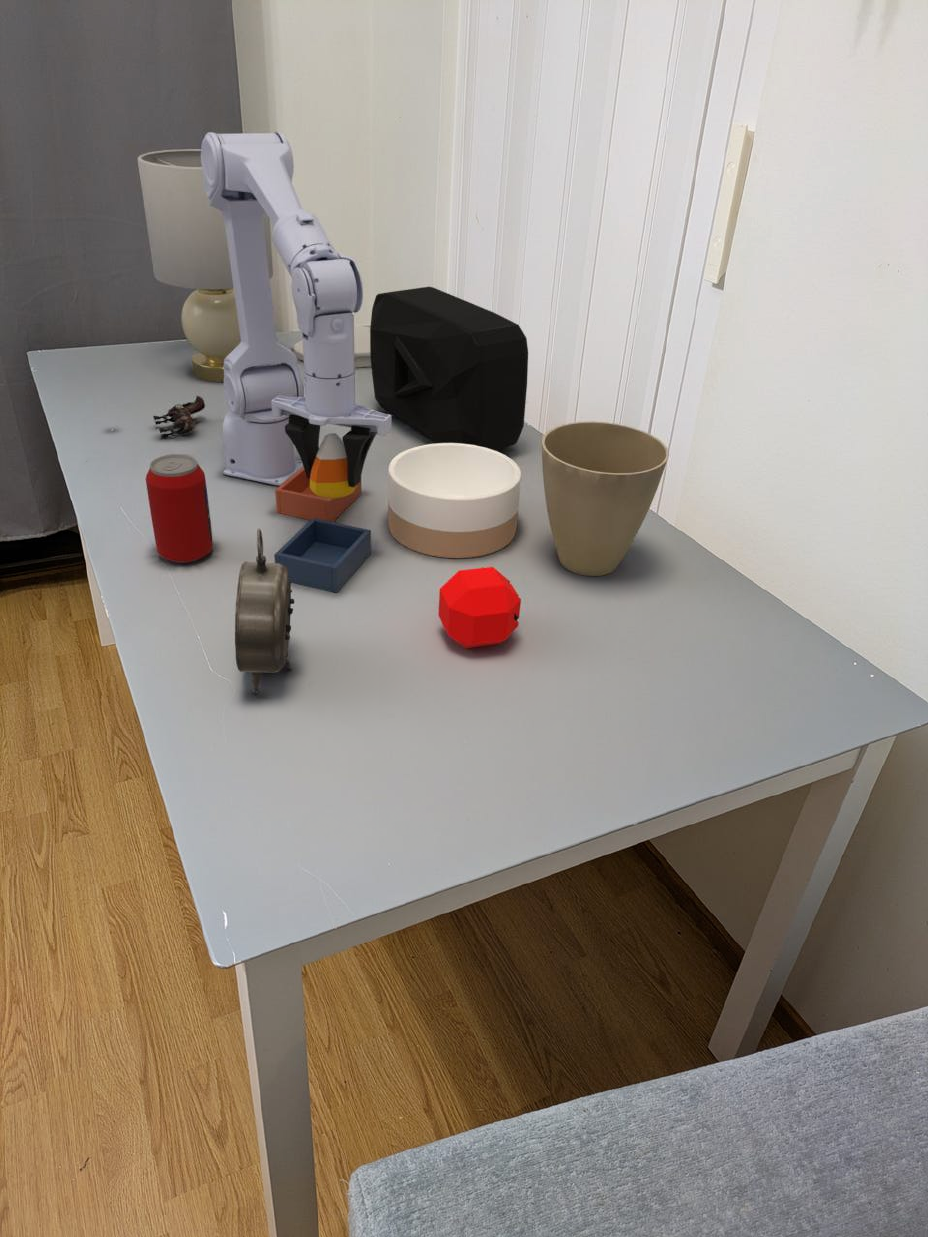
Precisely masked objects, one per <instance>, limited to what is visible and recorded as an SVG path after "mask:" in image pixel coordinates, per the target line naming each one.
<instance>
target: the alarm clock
mask: <svg viewBox="0 0 928 1237" xmlns="http://www.w3.org/2000/svg"><path fill="white" fill-rule="evenodd" d="M256 548H257V556H256V557H255V560H256V562H255V561H244V562H243V563H241V566H240V569H239V574H238V581H237V588H236V598H235V614H234V648H235V663H236V667H237V670H238V671H239V672H240V673H243V672H245V673H247V672H248V673H251V674H252V684H253V685H252V686H253V690H252V692H251V694H252V695H253V696H258V695H259V693H260V692H259V684H260V678H261V674H262V673H271V674H272V673H273V674H275V673H277V672H280V671H281V670H282V669H283V668H284V667H285V665H286V666H287V668H288V669H289V670H293V666H292V665H291V663H290V661H289V659H288V658H289V645H290V644H289V643H290V639H291V635H290V633H291V630H292V625H291V615H293V612H294V608H293V607H292V605H294V604H295V603H296V602H295V599H294V598H292V593H293V589H292V585H291V584H292V582H290V575H289V572H288V570H287V568H286V567H285V566H283V565H282V564H279V563H275V562H266V561H267V557H266V556H265V555H264V541H263V533H262V530H261V528H260V527H259V528H257V529H256Z"/></svg>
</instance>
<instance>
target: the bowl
mask: <svg viewBox="0 0 928 1237" xmlns="http://www.w3.org/2000/svg"><path fill="white" fill-rule="evenodd" d="M521 485H522V470H521V468H520V466H519V465H518V464H517V463H516V462H515V461H514V460H513V458H511V457H510V456H509V457H508V456H507V455H506V454H504V453H501V452H499V451H498V450H496V451H495V450H491V449H488V448H485V447H480V446H476V445H469V444H461V443H428V444H422V445H418V446H414V447H411V448H409V449H405V450H403V451H402V452H399V453H398V454H397V455H396V456H394V457H393V458H392V459H391V461H390V462H389V465H388V469H387V501H388V502H387V507H388V508H387V524H388V529H389V532H390V534H391V536H392V537H393V538H394V539H395V541H397V542H398V543H400V544H401V545H402V546H404V547H405V548H408V549H409V550H412V551H414V552H417V553H420V554H424V555H428V556H432V557H438V558H445V559H470V558H476V557H483V556H487V555H489V554H493V553H495V552H498V551H499V550H503V549H504V548H505V547H507V546H508V545H509V544H510V543H511V542H512V541H513V539H514V538H515V535H516V533H517V525H518V515H519V507H520V497H521V488H522V486H521Z"/></svg>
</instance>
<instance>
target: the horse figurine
mask: <svg viewBox="0 0 928 1237" xmlns="http://www.w3.org/2000/svg"><path fill="white" fill-rule="evenodd" d="M205 407H206V404H205V399H204V398H203V397H201V396H200V395H196V396H195V400H194V401H193V402H191V401H188V402H186V403H182V404H180V403H178V404H175V405H173V406H172V407H171V408H170V409H168V410H167V413H166V414H163V415H161V416H159V415H153V416H152V417H153V420H154V423H155V425H156V426H157V425H161V424H163V423H164V424H169V423H171V424H172V426H170V427H168V428H166V427H158V428H159V429H158V431H159V432H160V436H161V438H162V439H164V438H168V437H169V436H170V437H177V436H179V435H186V434H190V433H191V432H192V431H193V430H194V429H195V426H196V424H198V423H199V422H200V420H199V419H200V418H198V417H194V415H195V414H197V413H200V412H202V411H203V410H204V409H205ZM162 419H163V420H162ZM177 428H178V429H177ZM111 432H114V429H111ZM166 432H169V433H166Z"/></svg>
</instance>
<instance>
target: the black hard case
mask: <svg viewBox="0 0 928 1237" xmlns="http://www.w3.org/2000/svg"><path fill="white" fill-rule="evenodd" d="M369 327H370V359H371V377H372V385H373V392H374V393H373V394H374V399H375V400H376V402H377V403H378V406H379V408H380V409H382V410H383V411H385V412H386V413H387V414H389V415H391V417H393V418H395V419H397V420H398V421H400V422H402V424H404V425H406V426H407V427H409V428H410V429H412V430H413V431H415V432H416V433H417V434H419V435H421V436H423V437H425V438H426V439H428V440H430V441H431V442H433V443H434V444H436V443H461V444H469V445H476V446H480V447H485V448H488V449H491V450H495V451H500V450H504V449H508V448H510V447H512V446H515V445H516V444H518V442H519V439H520V436H521V434H522V431H523V429H524V426H525V417H526V416H525V415H526V414H525V413H526V404H527V402H526V401H527V391H528V374H529V373H528V372H529V347H528V339H527V337H526V334H524V331H523V329H522V328H521V326H520V325H519V324H518V323H516V322H514V321H512V320H510V319H508V318H506V317H504V316H502V315H500V314H498V313H496V312H494V311H492V310H490V309H487V308H484V307H482V306H479V305H477V304H474V303H472V302H470V301H468V300H465V299H462V298H460V297H458V296H455V295H453V294H450V293H448V292H445V291H443V290H440V289H438V288H436V287H433V286H424V287H416V288H409V289H402V290H401V289H400V290H393V291H387V292H380V293H378V294H376V295H375V298H374V301H373V304H372V308H371V317H370V326H369Z"/></svg>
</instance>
